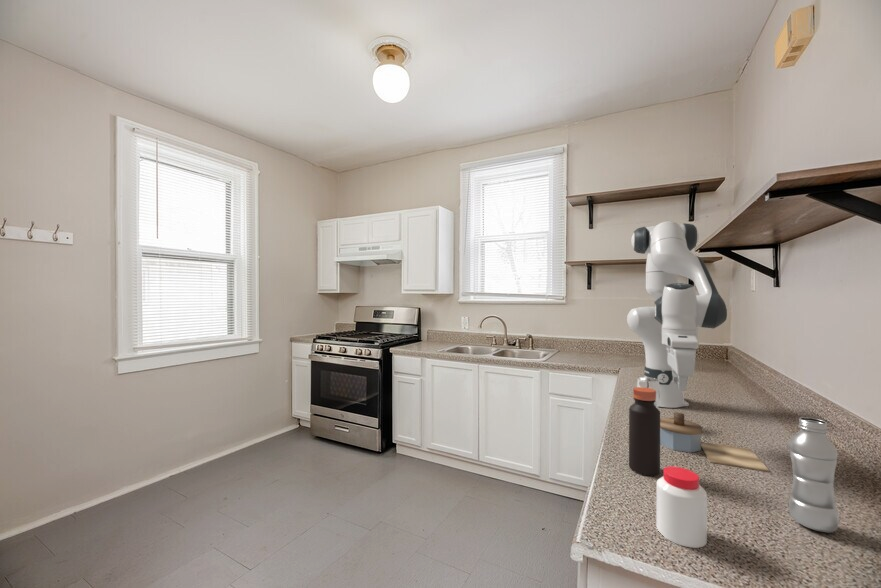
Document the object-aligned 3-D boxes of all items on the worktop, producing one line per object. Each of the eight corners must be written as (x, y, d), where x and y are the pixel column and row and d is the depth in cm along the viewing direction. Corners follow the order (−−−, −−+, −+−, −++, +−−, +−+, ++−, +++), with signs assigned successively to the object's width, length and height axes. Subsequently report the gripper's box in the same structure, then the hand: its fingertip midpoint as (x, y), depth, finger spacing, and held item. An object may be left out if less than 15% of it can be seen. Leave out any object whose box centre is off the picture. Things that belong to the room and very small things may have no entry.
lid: (655, 419, 114) (655, 406, 114) (697, 424, 110) (697, 410, 110) (659, 430, 104) (659, 416, 104) (706, 437, 100) (706, 422, 100)
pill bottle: (714, 551, 62) (715, 486, 62) (663, 543, 64) (663, 480, 64) (696, 524, 70) (696, 466, 70) (651, 517, 72) (651, 461, 72)
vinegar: (655, 479, 87) (656, 394, 87) (625, 470, 91) (625, 389, 91) (663, 469, 92) (663, 389, 92) (633, 461, 96) (634, 384, 96)
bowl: (657, 436, 114) (657, 419, 114) (695, 441, 109) (695, 424, 110) (661, 448, 105) (661, 430, 105) (703, 454, 101) (703, 436, 101)
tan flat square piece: (698, 442, 108) (698, 441, 108) (749, 450, 103) (749, 448, 103) (710, 462, 96) (710, 460, 96) (769, 472, 91) (769, 470, 91)
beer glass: (653, 419, 128) (653, 376, 128) (663, 427, 121) (664, 381, 121) (632, 419, 129) (633, 376, 129) (641, 426, 122) (641, 381, 122)
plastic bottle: (836, 543, 65) (836, 429, 65) (784, 523, 70) (784, 418, 70) (842, 529, 68) (842, 422, 69) (792, 511, 74) (792, 412, 74)
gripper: (662, 335, 118) (662, 378, 118) (671, 341, 99) (672, 393, 99) (685, 336, 115) (685, 380, 115) (700, 343, 97) (700, 395, 96)
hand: (679, 386), depth 107 cm, fingers open, 8 cm apart
